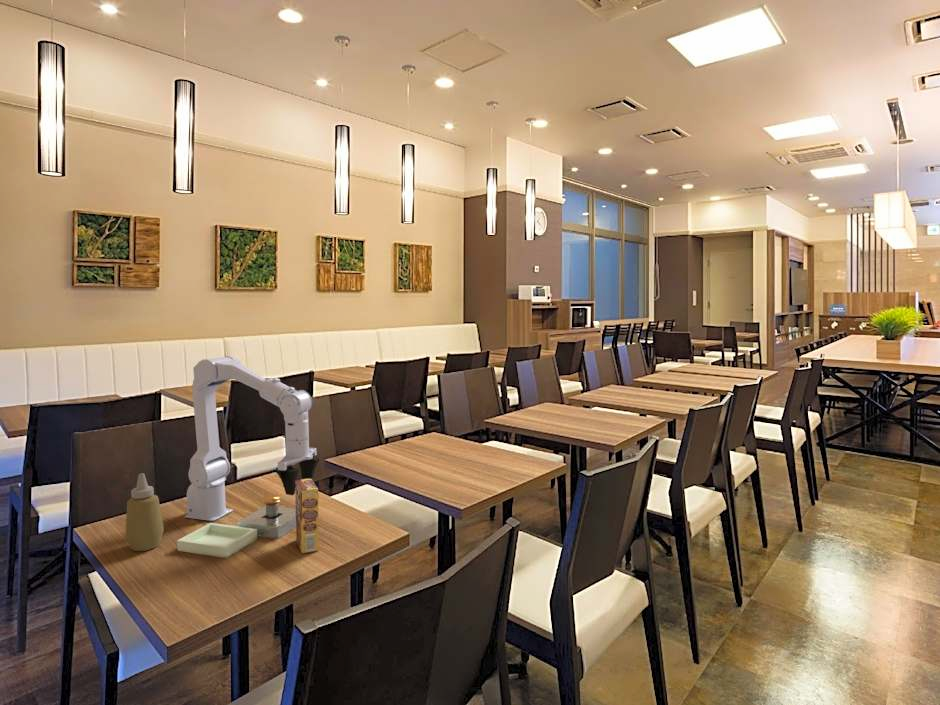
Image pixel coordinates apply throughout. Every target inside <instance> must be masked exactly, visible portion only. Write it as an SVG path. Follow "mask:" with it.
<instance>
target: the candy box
mask: <svg viewBox="0 0 940 705" xmlns="http://www.w3.org/2000/svg"><path fill="white" fill-rule="evenodd" d="M295 509H296V527H295V539H296V542H297V545H298V548H299V549H300V552H301V554H308V553H312V552H313V553H314V552H318V551H319V550H320V549H319V547H320V545H319V543H320V542H319V539H320V538H319V536H320V535H319V528H320V527H319V526H320V525H319V488H318V486H317V485H316V483H315V481H314V480H313V479H302V478H301V479H296V481H295Z"/></svg>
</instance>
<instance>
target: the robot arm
mask: <svg viewBox="0 0 940 705" xmlns="http://www.w3.org/2000/svg"><path fill="white" fill-rule="evenodd" d="M230 380H235V381H237V382H239V383H242V384H243V385H246V386H248V387H250V388H252V389H254V390H257V391H258V394H259V396H260V398H261V399H263V400H265V401H267V402H270V403H271V404H272V405H274V406H276V407H278V408H279V409H280V410H279V411H281V413H282V415H283V420H284V425H285V426H284V427H285V455H284V457H283V458H282V459H281V460H279V461H278V462H277V467H276V468H275V473H276V474H277V475H278V477H279V478H280V481H281V483H282V486H283V488H284V492H285V495H288V496H294V495H296V492H295V481H297V477H298V473H299V471H300V472H301V480H302V479H312V480H313V478H314V473H315V470H316V468H317V466H318V464H319V462H320V457H318V456H317V455H318V453H317V452H318V451H317V447H310V437H309V436H310V434H309V433H310V431H309V426H310V424H309V411H310V410H311V408H312V406H313V398H312V396H311V395H310V394H309V392H307V391H306V390H304V389H300V390H297V389H296V388H295V387H293V386H288V385H287V384H284V383H283V382H281V379H280V378H278V377H270V378H267V379H266V378H265V377H263V376H261V375H260V374H258V373H257V372H255V371H254V370H252V369H250V368H248V367H247V366H246V365H244V364H242V363H241V361H240V360H239V359H236V358H234V357H233V356H231V355H230V356H229V355H225V356H223V357H222V356H221V357H215V358H208V359H201V360H200V361H198V362H197V364H196V365H194V367H193V381H192V385H191V386H192V387H191V389H192V399H193V400H192V402H193V413H194V415H193V416H194V423H195V425H194V426H195V435H196V437H195V438H196V445H197V446H196V448H197V450H196V451H195V453H194V454H193V456H192V457H191V458H190V460H189V462H190V463H189V470H188V479H189V481H190V483H191V484H190V485H188V488H187V490H186V508H187V509H186V512H187V514H186V515H185V516H184V517H185V518H187V519H193V520H200V521H209V522H215V521H217V520H218V519H220V518H222V517H224V516H226V515H228V514H229V513H232V512H233V511H234V509H232V508H226V504H227V503H226V485H225V484H226V482H225V481H227V476H228V475H229V474H230V472H231V464H230V462H229V459H228V458H227V452H226V450H225V449H222V448H221V447H220V438H219V437H220V436H219V435H220V434H219V425H218V413H217V411H218V410H217V404H216V403H217V399H216V398H217V397H216V391H217V390H218V389H219V388H220V387H221V386H222V385H223V384H224V383H226V382H228V381H230ZM296 464H298V465H299V468H300V469H298V468H294V467H293V466H294V465H296Z"/></svg>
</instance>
